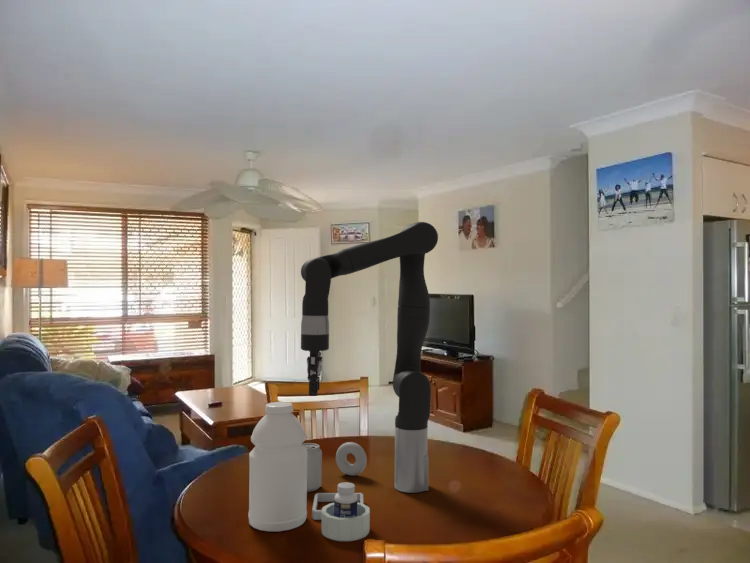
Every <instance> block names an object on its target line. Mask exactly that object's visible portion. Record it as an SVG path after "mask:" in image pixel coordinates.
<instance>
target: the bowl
mask: <svg viewBox="0 0 750 563" xmlns="http://www.w3.org/2000/svg"><path fill="white" fill-rule="evenodd" d="M321 510H322V520H321V526H320V527H321V528H320V530H321V534H322V536H323V537H325V538H327V539H328V540H331V541H337V542H353V541H354V542H355V541H358V540H361V539H364V538H365V537H368V535H369V534H370V528H371V526H370V522H371V521H370V520H371V519H370V518H371V517H370V516H371V512H370V511H371V509H370V507H369V506H368V505H366V504H365V503H364V502H363V503H360V502H357V516H356V517H352V518H339V517H334V502H331V503H328V504H326V505H324V506H323V507H322V508H321Z"/></svg>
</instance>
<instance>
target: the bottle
mask: <svg viewBox="0 0 750 563" xmlns="http://www.w3.org/2000/svg"><path fill="white" fill-rule="evenodd" d="M264 412H265V413H266V414H265V415H264V416H263V417H261V418H260V419H259V421H258V422H257V424H256V425H255V427H254V428H253V431H252V434H251V436H250V441H251V443H252V444H253V445H254V447H253V448H252V449H251V451H250V452H249V455H248V458H249V460H248V461H249V474H248V475H249V478H248V479H249V482H248V484H249V485H248V487H249V489H248V493H249V494H248V514H247V515H248V524H249V525H250V526H251V527H252V528H253V529H256V530H259V531H262V532H263V531H264V532H283V531H290V530H293V529H296V528H299V527H300V526H302V525H303V524H305V522H306V520H307V517H308V516H307V514H308V510H307V508H308V506H307V505H308V503H307V500H308V499H307V497H308V492H307V457H308V452H307V450H306V449H305V448H304V447H303V446H302V444H304V443H305V441H306V440H307V435H306V431H305V428H304V427H303V425H302V423H301V421H300V420H299V419H298V418H297V417H296V416H295V415H294V413H293V412H294V405H293V403H292V402H288V401H274V402H268V403H266V404H265V407H264Z"/></svg>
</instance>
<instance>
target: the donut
mask: <svg viewBox="0 0 750 563" xmlns="http://www.w3.org/2000/svg"><path fill="white" fill-rule="evenodd" d="M335 453H336V454H335V463H336V465H337V468H338V469H339V470H340V471H341V472H342V473H343V474H345V475H347V476H352V477H353V476H357V475H360V474H362V472H364V470H365V468H366V466H367V462H368V461H367V459H368V458H367V454H366V451H365V449H364V448H363V447H362V446H361V445H360V444H358V443H357V442H353V441H350V442H349V441H347V442H344V443H342V444H341V445H340V446H339V447H338V449H337V451H336V452H335ZM349 454H351V455H353V456H354V458H355V462H354V463H350V462H349V461H348V458H347V456H348V455H349Z"/></svg>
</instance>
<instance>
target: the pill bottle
mask: <svg viewBox="0 0 750 563" xmlns="http://www.w3.org/2000/svg"><path fill="white" fill-rule="evenodd" d="M355 487H356V486H355V484H354V483H352V482H347V481H345V482H339V483H338V484H337V489H336V490H337V492H336V493H337V494H336V495H335V497H334V502H333V503H334V517H339V518H352V517H356V516H357V495H356V494H355V493H356V492H355V490H356V488H355Z"/></svg>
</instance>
